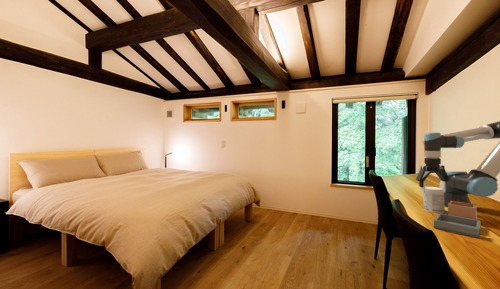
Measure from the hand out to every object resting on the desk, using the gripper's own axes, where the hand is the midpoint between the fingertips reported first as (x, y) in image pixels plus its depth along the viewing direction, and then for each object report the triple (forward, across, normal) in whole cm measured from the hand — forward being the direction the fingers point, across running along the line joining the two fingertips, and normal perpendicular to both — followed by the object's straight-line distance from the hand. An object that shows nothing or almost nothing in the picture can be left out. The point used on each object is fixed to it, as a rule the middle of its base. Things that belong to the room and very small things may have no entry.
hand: (432, 192), depth 124 cm
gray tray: (+12, +12, +23) cm, 29 cm away
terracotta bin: (+12, -1, +15) cm, 19 cm away
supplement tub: (+12, 0, 0) cm, 12 cm away
